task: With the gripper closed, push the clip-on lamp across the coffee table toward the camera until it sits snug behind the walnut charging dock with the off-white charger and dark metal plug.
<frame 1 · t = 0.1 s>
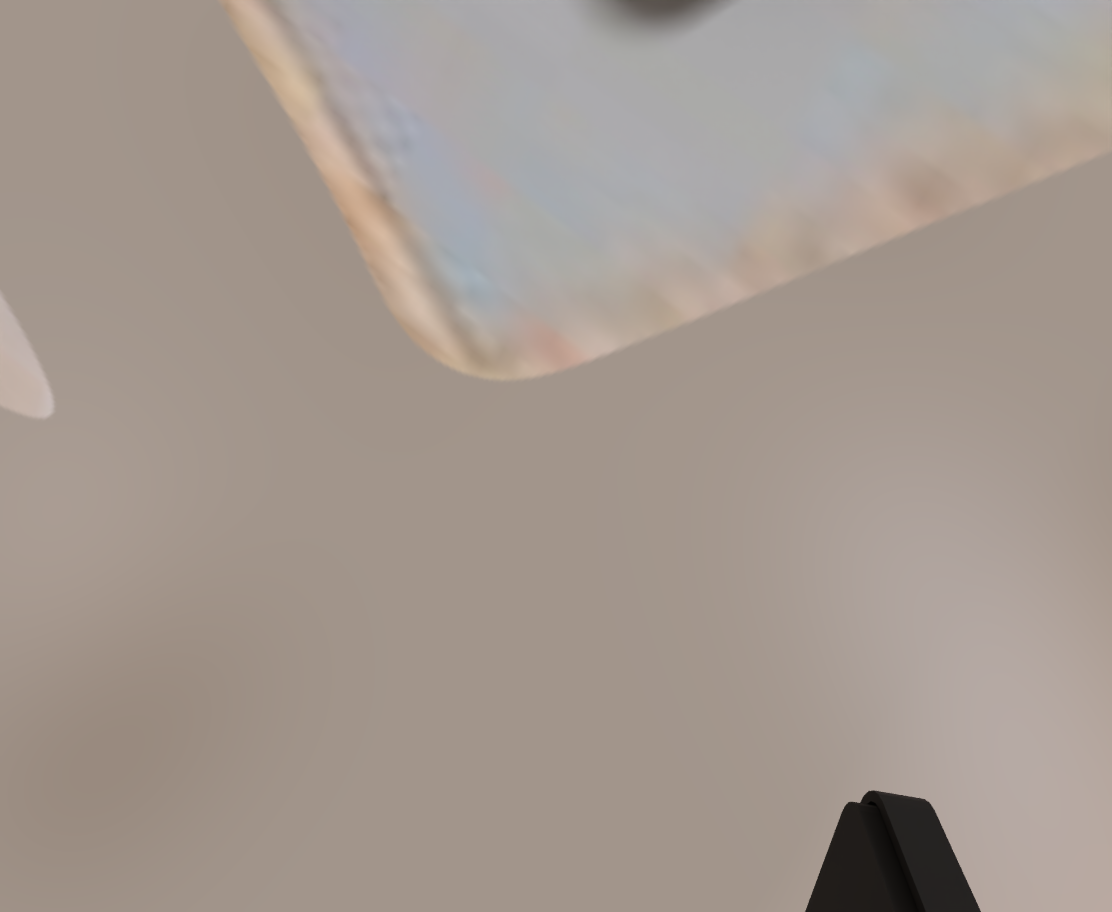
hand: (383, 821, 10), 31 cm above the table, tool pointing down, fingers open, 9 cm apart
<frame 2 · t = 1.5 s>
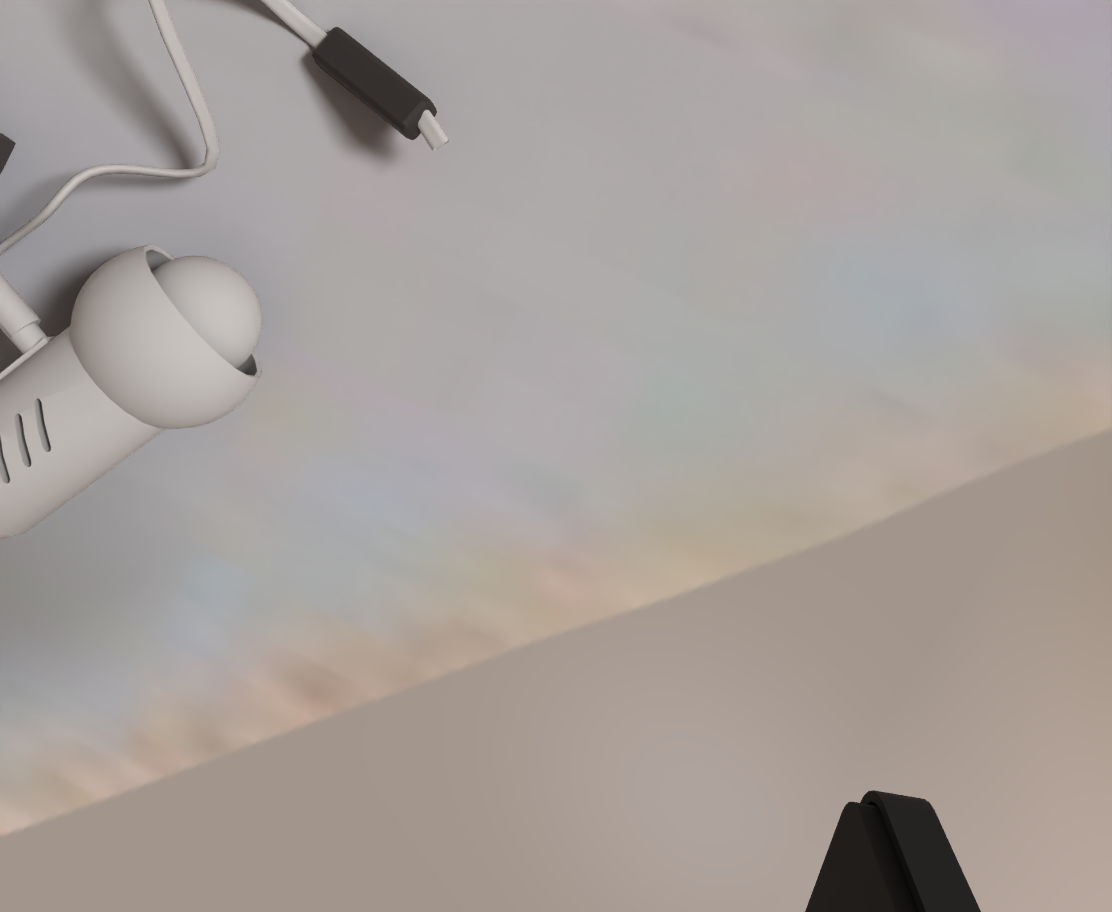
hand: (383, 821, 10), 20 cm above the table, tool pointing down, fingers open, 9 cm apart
clip-on lamp: (145, 209, 28), on the table
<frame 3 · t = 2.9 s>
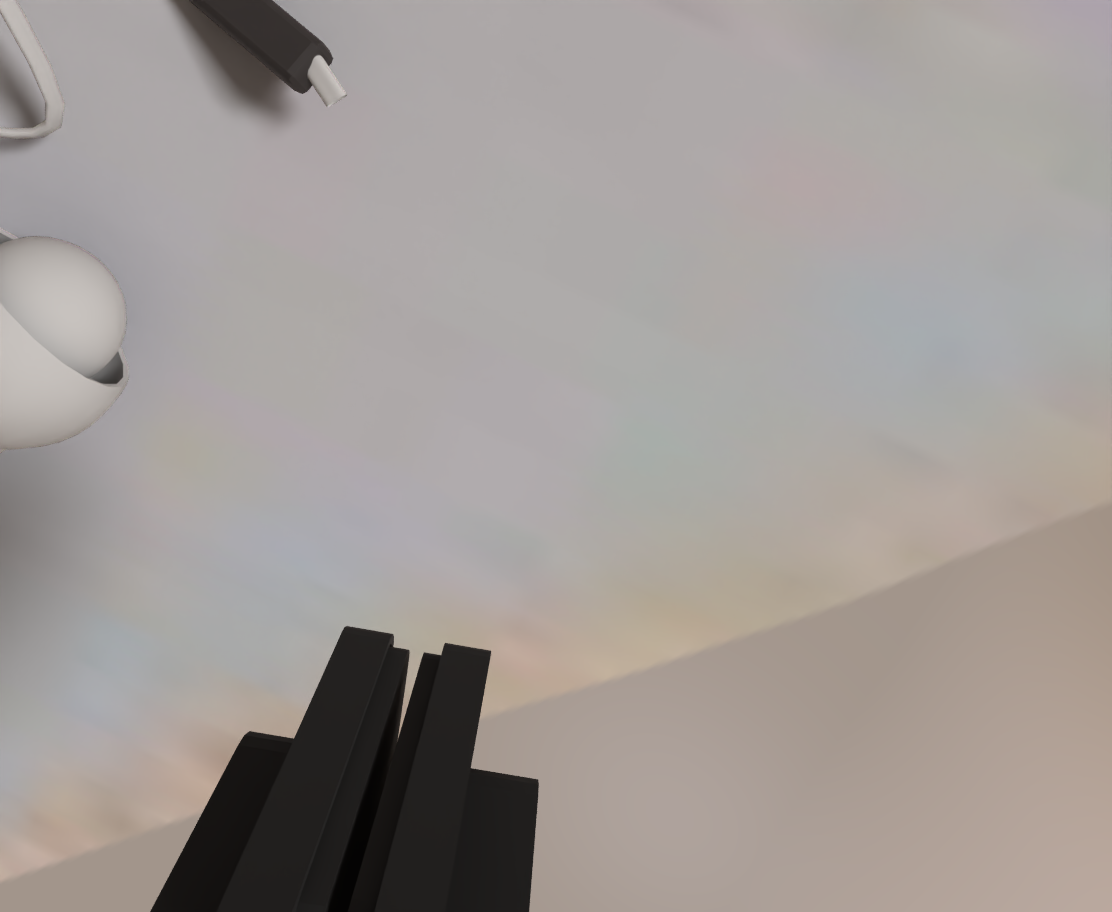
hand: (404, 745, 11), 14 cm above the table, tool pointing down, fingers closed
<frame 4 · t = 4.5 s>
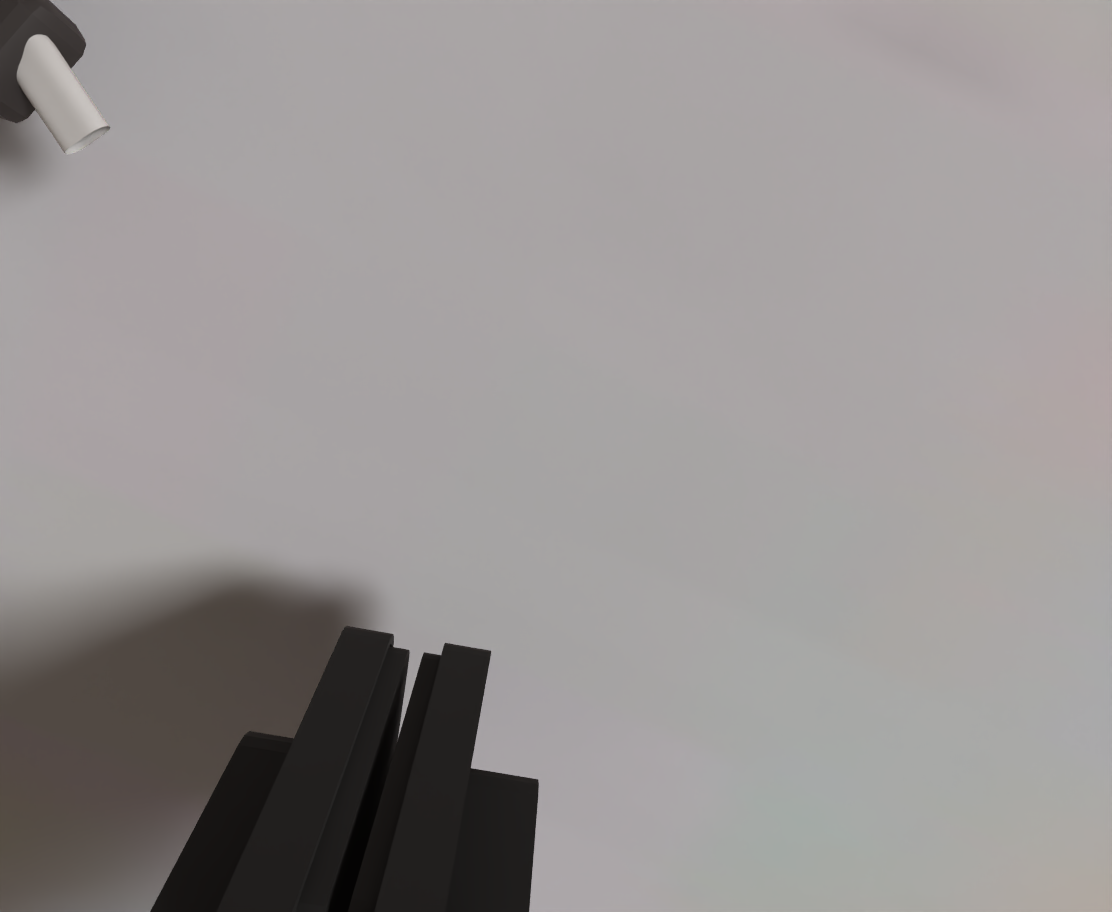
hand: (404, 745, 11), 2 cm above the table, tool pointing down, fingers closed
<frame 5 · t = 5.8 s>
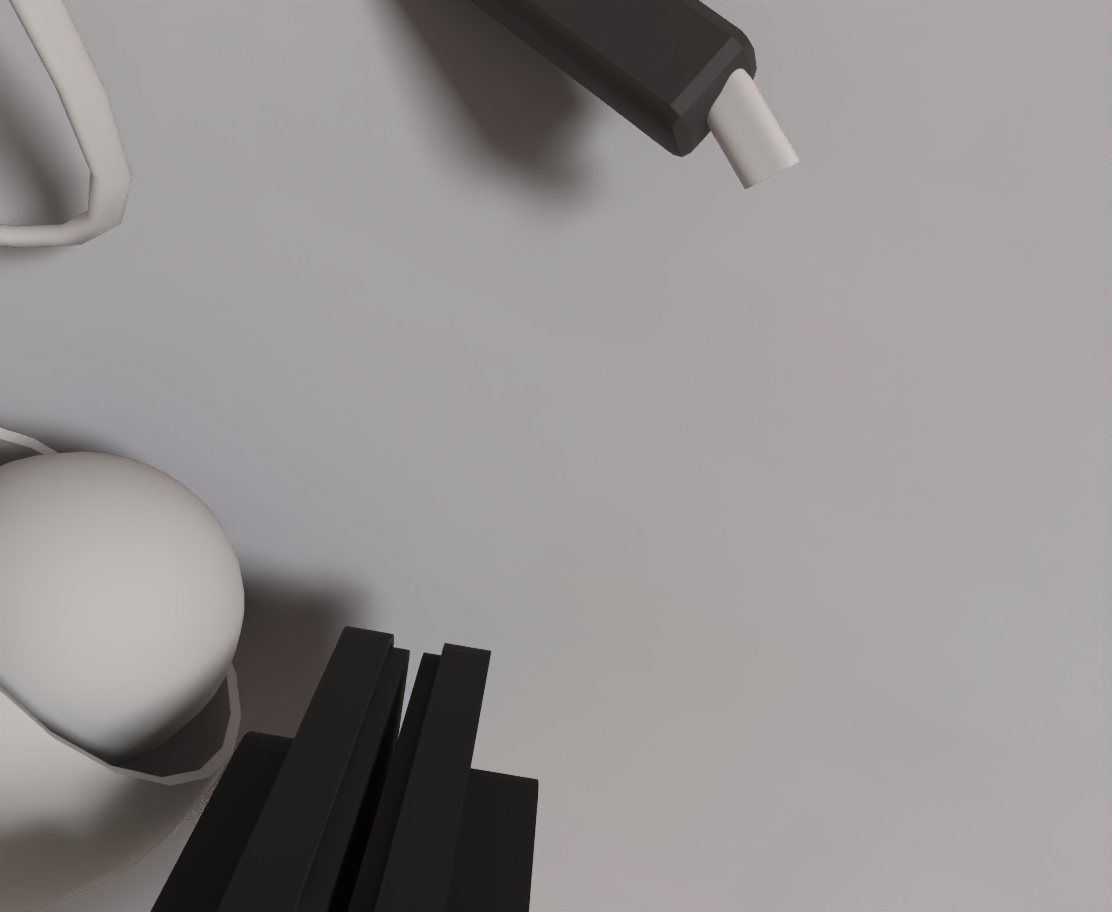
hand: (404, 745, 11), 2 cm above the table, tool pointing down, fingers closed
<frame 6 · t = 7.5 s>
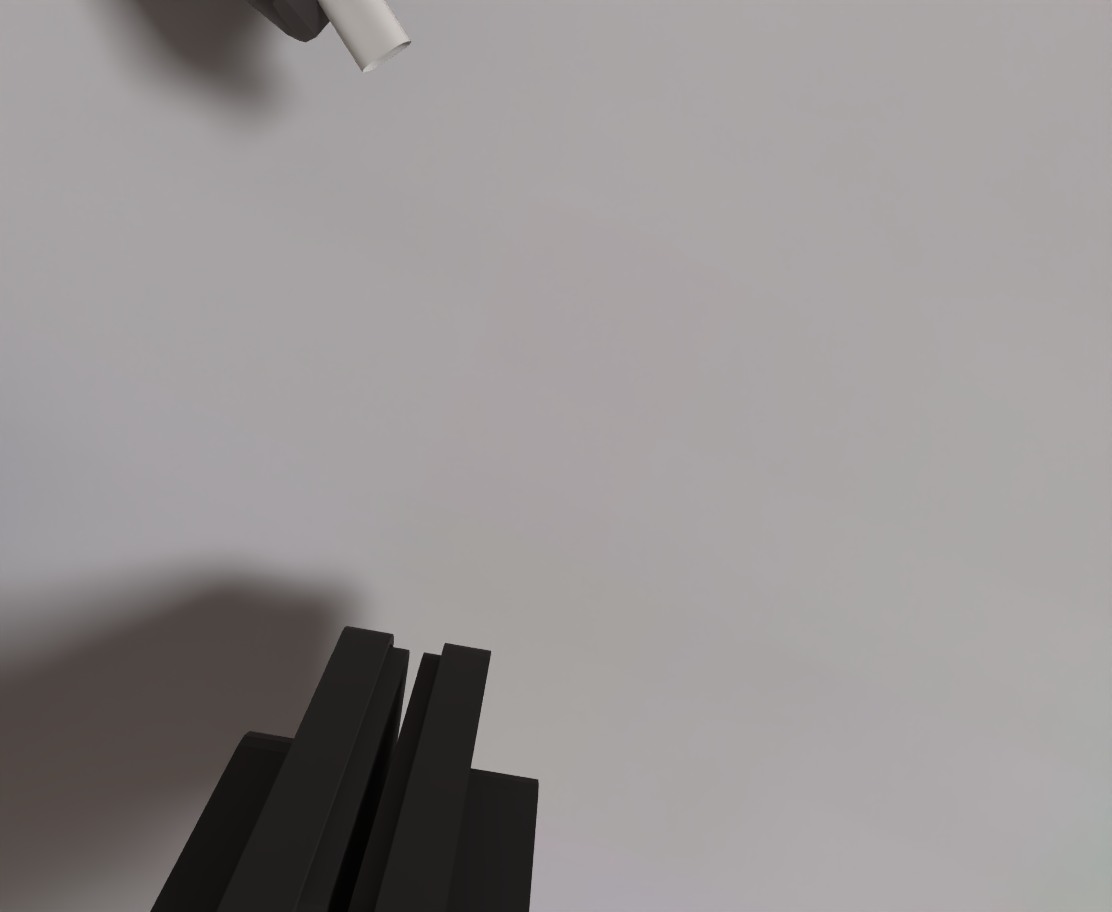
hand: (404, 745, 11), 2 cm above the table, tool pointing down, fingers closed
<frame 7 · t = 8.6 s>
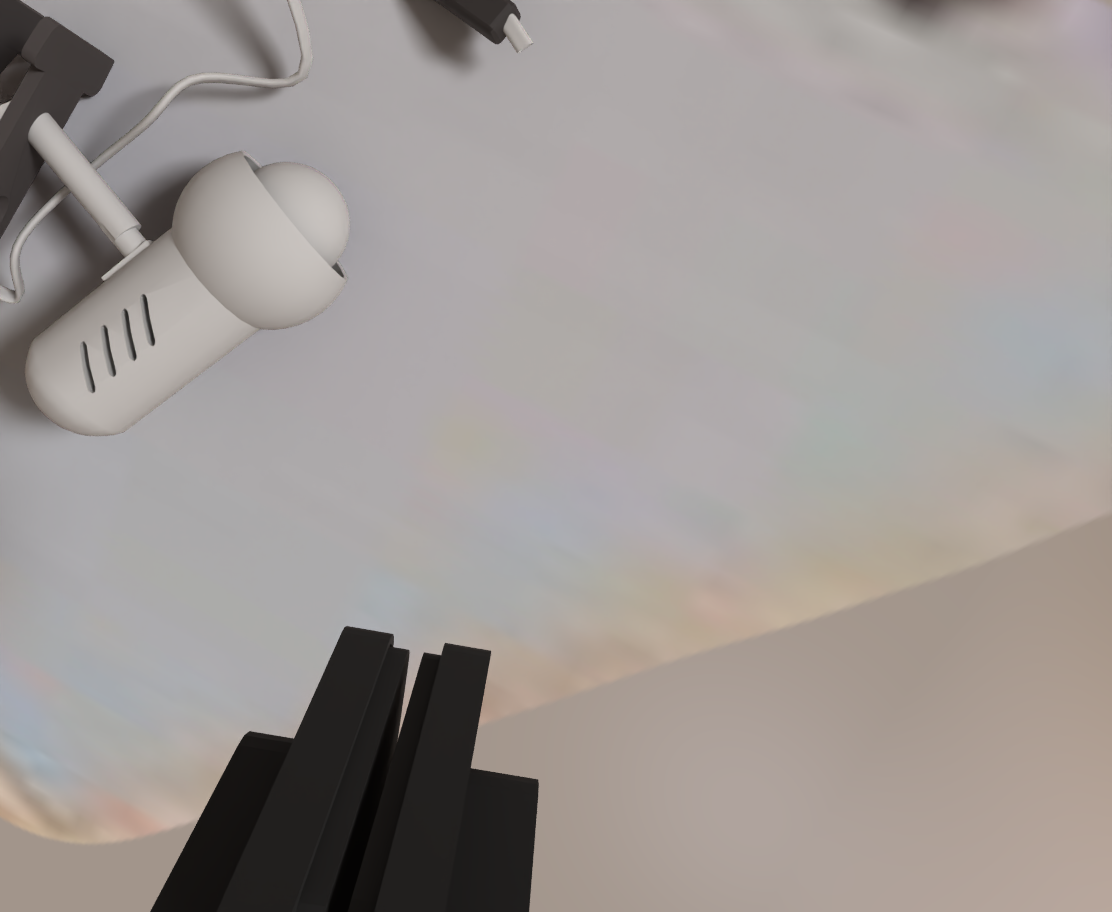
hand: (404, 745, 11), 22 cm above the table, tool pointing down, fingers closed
clip-on lamp: (234, 126, 30), on the table, touching charging dock
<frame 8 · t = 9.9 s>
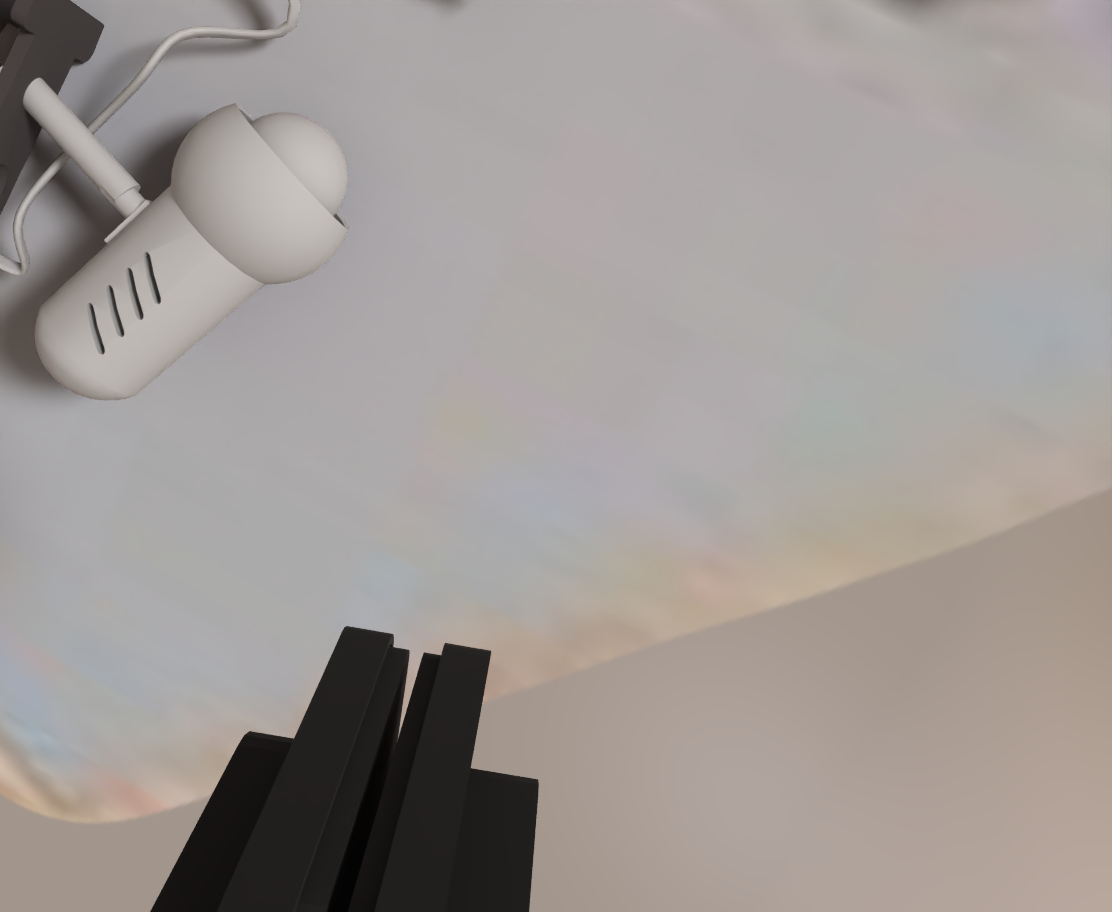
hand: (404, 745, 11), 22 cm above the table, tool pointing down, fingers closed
clip-on lamp: (227, 84, 30), on the table
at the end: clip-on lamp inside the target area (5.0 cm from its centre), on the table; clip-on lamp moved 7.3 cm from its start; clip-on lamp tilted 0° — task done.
